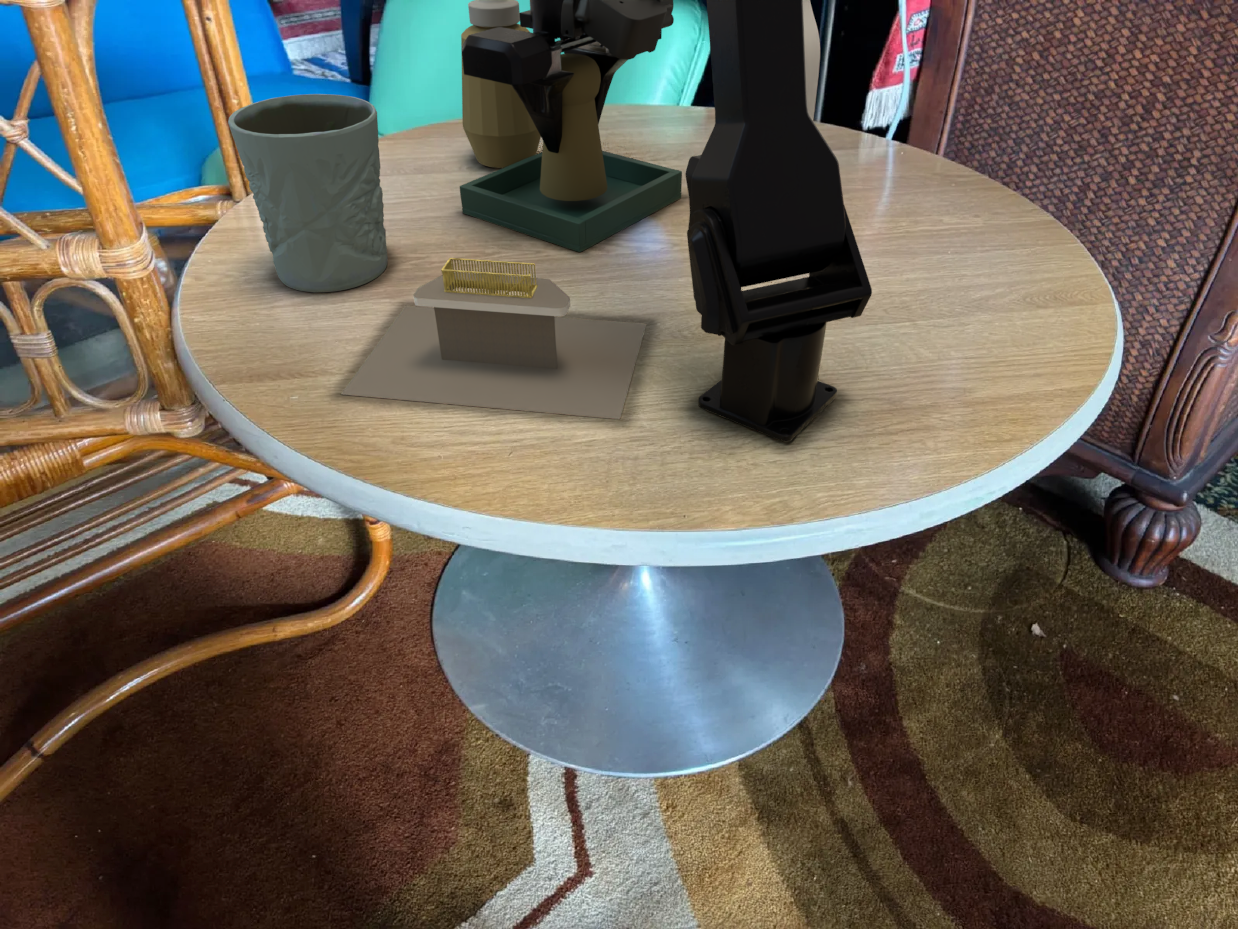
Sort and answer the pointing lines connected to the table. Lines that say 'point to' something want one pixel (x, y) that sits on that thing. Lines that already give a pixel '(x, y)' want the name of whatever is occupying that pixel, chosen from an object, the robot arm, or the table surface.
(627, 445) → the table surface
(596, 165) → the brown game pawn
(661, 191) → the serving tray
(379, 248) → the embossed green cup
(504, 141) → the squeeze bottle
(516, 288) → the platform
